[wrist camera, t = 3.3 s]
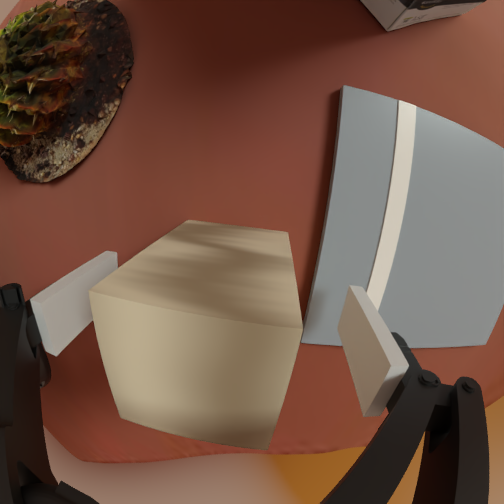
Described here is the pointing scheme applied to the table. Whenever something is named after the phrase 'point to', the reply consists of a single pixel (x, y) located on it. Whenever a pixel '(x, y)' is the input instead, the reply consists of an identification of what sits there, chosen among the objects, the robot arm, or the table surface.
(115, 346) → the beech block
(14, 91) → the cactus
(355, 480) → the robot arm
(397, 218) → the board
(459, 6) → the tea box
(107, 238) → the table surface
